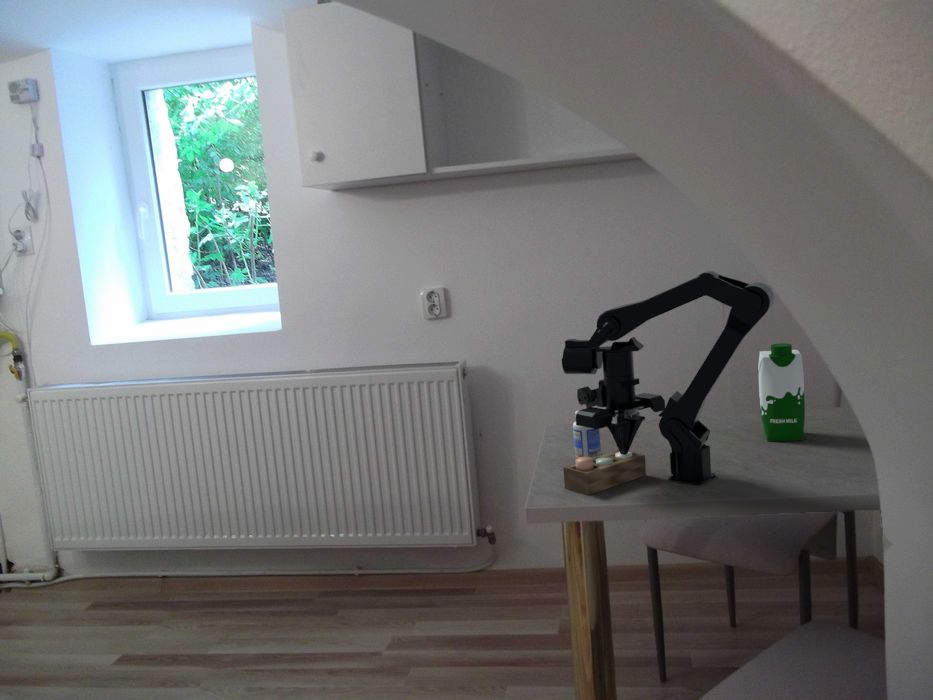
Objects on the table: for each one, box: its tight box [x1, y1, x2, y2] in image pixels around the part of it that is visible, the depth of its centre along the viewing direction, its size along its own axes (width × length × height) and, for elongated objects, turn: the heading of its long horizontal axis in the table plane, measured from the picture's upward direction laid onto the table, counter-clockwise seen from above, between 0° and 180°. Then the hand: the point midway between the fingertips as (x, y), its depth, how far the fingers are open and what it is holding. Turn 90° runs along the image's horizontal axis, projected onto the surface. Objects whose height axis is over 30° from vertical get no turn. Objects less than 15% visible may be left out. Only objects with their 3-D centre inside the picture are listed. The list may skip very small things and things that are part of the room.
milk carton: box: [757, 342, 806, 442], centre depth 176 cm, size 9×9×20 cm
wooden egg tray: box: [563, 449, 647, 496], centre depth 158 cm, size 15×6×4 cm, turn 125°
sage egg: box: [596, 458, 613, 465], centre depth 158 cm, size 3×3×2 cm
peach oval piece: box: [574, 457, 593, 472], centre depth 155 cm, size 3×3×2 cm
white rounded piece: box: [615, 451, 632, 459], centre depth 161 cm, size 3×3×2 cm
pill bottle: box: [572, 409, 602, 459], centre depth 175 cm, size 5×5×10 cm
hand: (623, 454), depth 161 cm, fingers closed, pressing on white rounded piece
